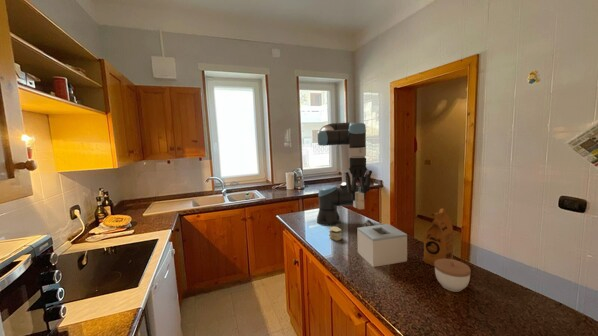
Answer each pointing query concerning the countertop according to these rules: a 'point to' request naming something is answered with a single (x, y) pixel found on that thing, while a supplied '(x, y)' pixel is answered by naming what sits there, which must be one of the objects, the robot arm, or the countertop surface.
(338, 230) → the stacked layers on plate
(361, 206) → the tan rectangular block
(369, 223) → the fossil
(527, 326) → the countertop surface
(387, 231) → the slot box
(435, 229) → the coffee package
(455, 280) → the lidded jar
